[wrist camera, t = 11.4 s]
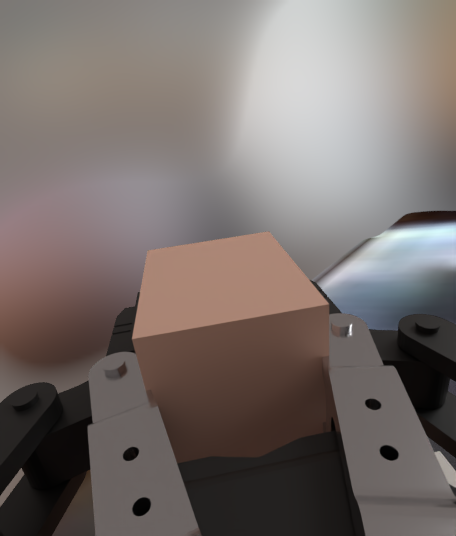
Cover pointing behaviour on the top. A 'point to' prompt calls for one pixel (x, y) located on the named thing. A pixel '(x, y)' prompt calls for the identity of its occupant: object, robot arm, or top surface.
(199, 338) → the tall brown pillar
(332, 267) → the top surface
